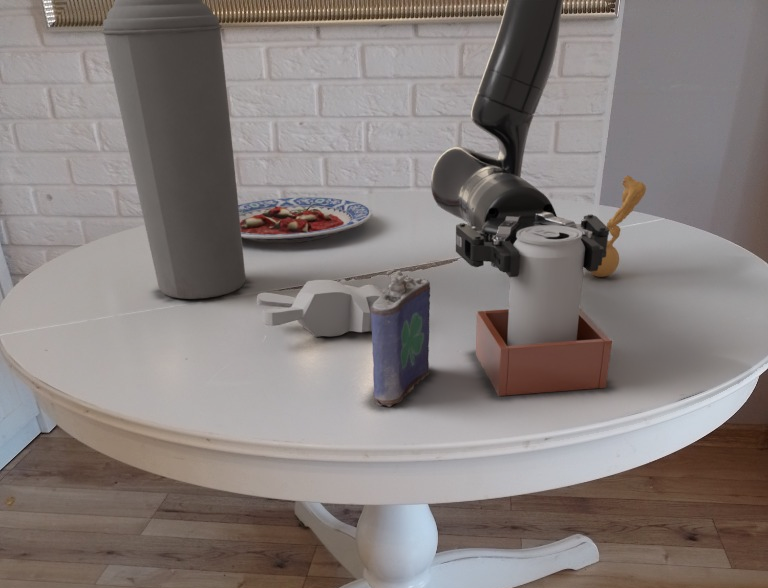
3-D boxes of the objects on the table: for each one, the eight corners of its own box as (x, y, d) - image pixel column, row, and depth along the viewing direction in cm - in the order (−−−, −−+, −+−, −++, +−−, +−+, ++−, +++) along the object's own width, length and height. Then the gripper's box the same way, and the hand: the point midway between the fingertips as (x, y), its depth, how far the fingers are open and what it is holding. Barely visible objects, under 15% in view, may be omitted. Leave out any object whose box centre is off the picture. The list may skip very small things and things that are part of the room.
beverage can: (546, 380, 72) (556, 246, 65) (492, 362, 76) (497, 233, 69) (588, 360, 75) (602, 230, 69) (534, 343, 79) (542, 219, 73)
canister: (132, 292, 101) (62, -44, 82) (210, 267, 109) (163, -43, 90) (195, 311, 94) (135, -51, 75) (274, 283, 102) (237, -50, 83)
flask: (393, 409, 70) (390, 288, 64) (364, 403, 71) (358, 285, 65) (434, 370, 77) (434, 258, 71) (407, 366, 78) (405, 256, 72)
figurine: (594, 265, 104) (605, 167, 97) (640, 270, 102) (655, 170, 95) (575, 283, 98) (586, 180, 91) (624, 289, 96) (639, 183, 89)
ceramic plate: (312, 259, 111) (310, 237, 109) (174, 241, 122) (170, 220, 120) (402, 218, 129) (401, 199, 127) (274, 205, 140) (272, 187, 139)
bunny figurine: (410, 299, 82) (265, 298, 79) (405, 347, 85) (264, 348, 81) (388, 274, 90) (255, 272, 86) (384, 318, 93) (255, 318, 89)
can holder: (572, 347, 81) (576, 304, 78) (606, 387, 72) (612, 340, 70) (475, 354, 80) (476, 311, 77) (498, 396, 72) (500, 349, 69)
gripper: (439, 183, 79) (474, 223, 66) (579, 174, 80) (643, 211, 67) (439, 258, 84) (472, 311, 70) (572, 249, 85) (631, 299, 71)
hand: (555, 262), depth 68 cm, fingers closed on beverage can, 6 cm apart
